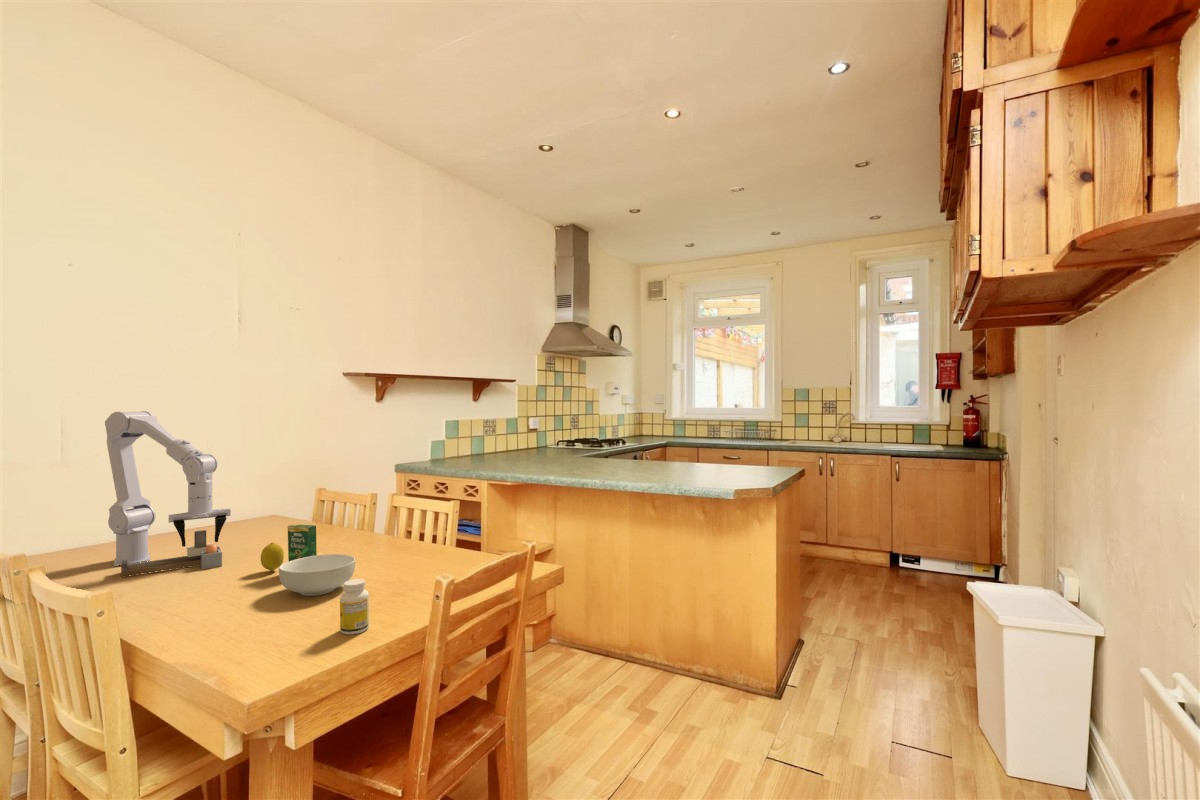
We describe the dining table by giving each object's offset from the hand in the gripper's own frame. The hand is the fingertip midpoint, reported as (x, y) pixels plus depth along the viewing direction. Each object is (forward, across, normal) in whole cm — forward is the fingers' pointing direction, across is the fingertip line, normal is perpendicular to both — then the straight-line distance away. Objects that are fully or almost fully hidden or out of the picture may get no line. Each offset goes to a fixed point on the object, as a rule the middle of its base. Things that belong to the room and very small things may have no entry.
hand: (200, 543), depth 160 cm
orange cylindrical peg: (+3, +2, -6) cm, 7 cm away
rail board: (+6, -6, 0) cm, 8 cm away
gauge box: (+6, +2, -6) cm, 8 cm away
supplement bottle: (+6, +21, -79) cm, 82 cm away
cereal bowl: (+6, +21, -48) cm, 53 cm away
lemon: (+6, +15, -23) cm, 28 cm away
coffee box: (+6, +21, -30) cm, 37 cm away
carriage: (+3, 0, 0) cm, 3 cm away
